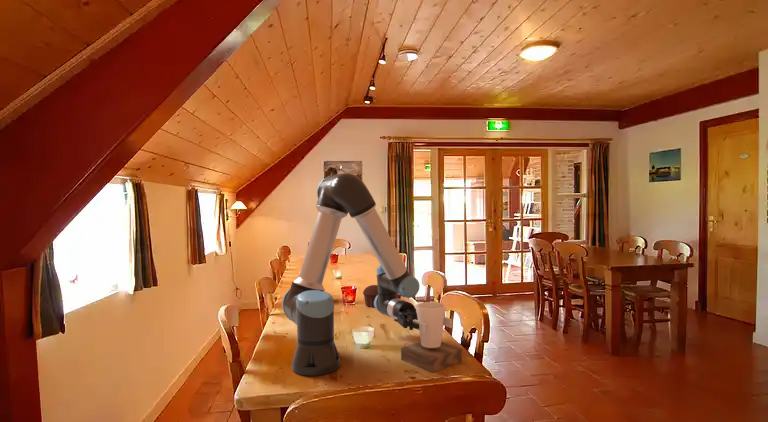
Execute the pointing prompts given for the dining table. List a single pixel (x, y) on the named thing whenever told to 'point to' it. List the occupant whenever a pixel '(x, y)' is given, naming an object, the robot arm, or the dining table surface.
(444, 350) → the walnut plinth
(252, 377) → the dining table surface
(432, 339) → the foam cup
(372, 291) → the muffin
